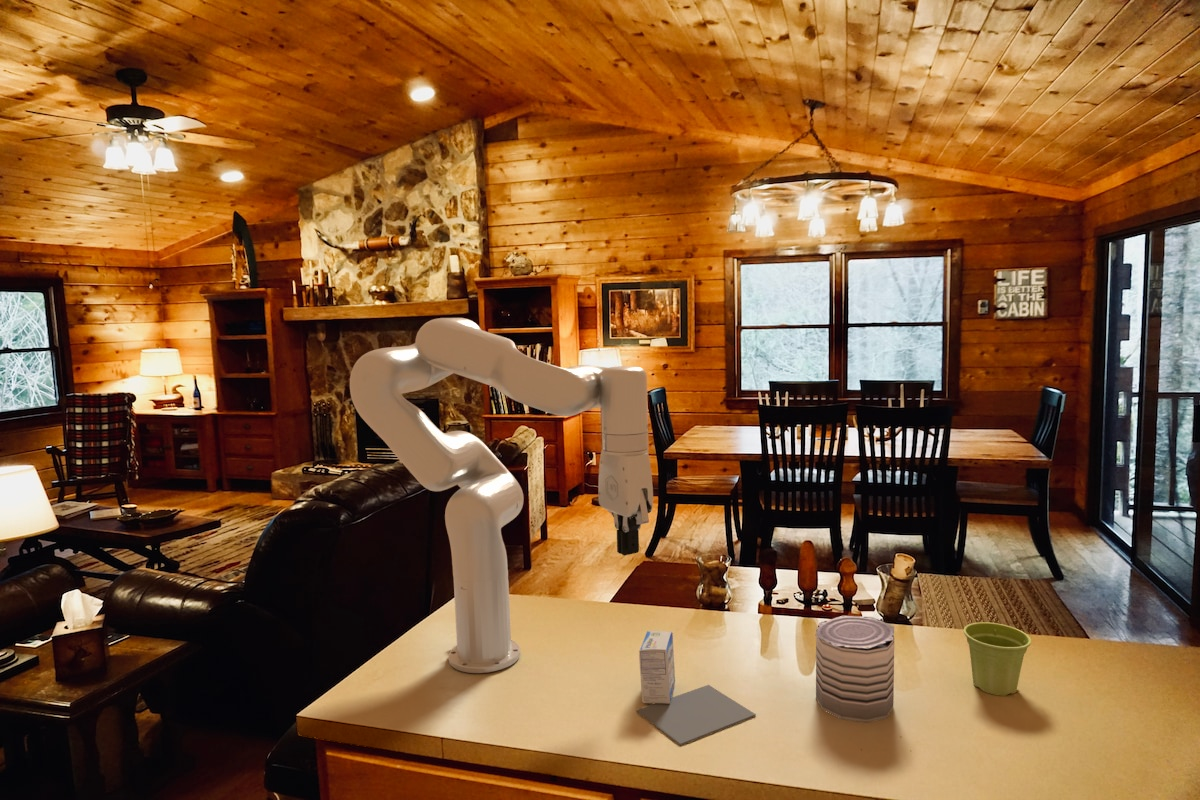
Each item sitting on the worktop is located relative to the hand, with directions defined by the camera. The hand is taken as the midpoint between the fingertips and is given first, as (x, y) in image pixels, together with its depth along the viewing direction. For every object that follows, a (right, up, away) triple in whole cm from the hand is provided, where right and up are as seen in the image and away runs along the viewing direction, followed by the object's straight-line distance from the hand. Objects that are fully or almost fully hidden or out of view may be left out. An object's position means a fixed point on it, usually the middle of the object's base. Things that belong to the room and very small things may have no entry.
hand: (628, 552), depth 125 cm
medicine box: (+5, -22, -4) cm, 23 cm away
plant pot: (+58, -20, -5) cm, 61 cm away
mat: (+10, -22, -11) cm, 26 cm away
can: (+34, -21, -9) cm, 41 cm away
